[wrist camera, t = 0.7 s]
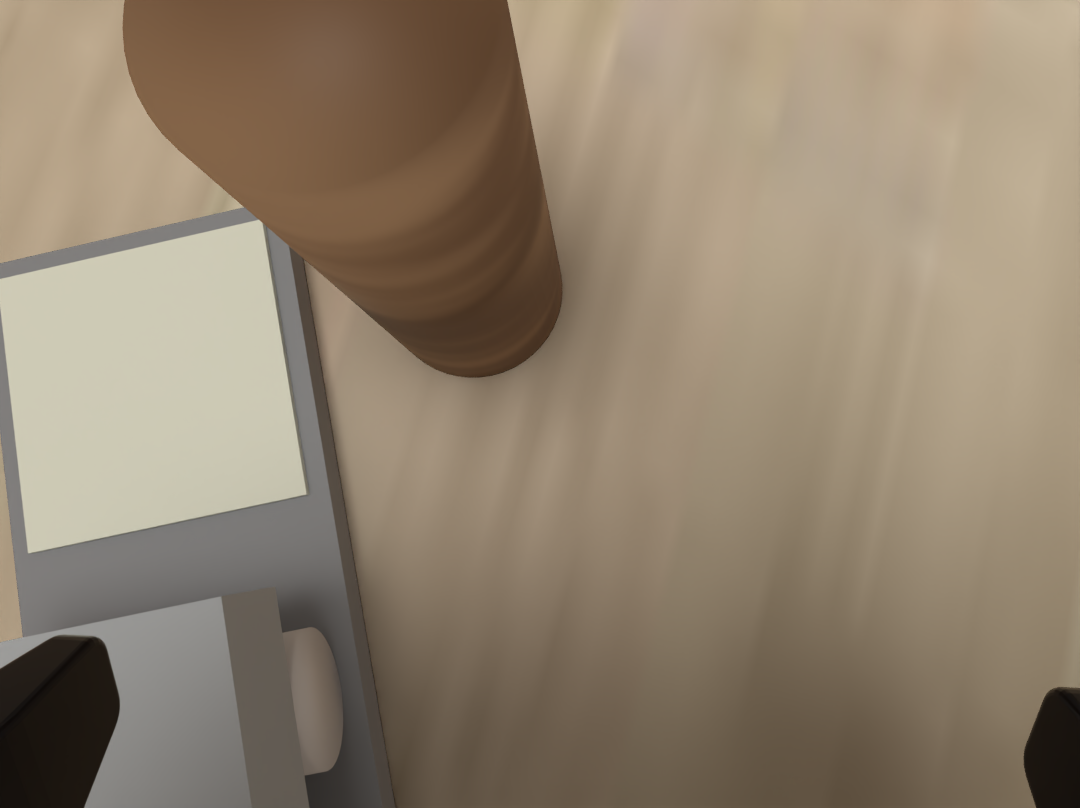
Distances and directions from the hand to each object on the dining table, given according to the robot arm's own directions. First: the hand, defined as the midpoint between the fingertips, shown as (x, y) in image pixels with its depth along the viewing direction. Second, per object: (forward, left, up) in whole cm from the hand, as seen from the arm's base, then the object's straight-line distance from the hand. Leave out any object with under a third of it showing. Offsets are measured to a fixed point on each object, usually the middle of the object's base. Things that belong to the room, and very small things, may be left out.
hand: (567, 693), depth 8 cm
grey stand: (-6, +8, -13) cm, 16 cm away
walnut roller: (+5, +7, -13) cm, 15 cm away
